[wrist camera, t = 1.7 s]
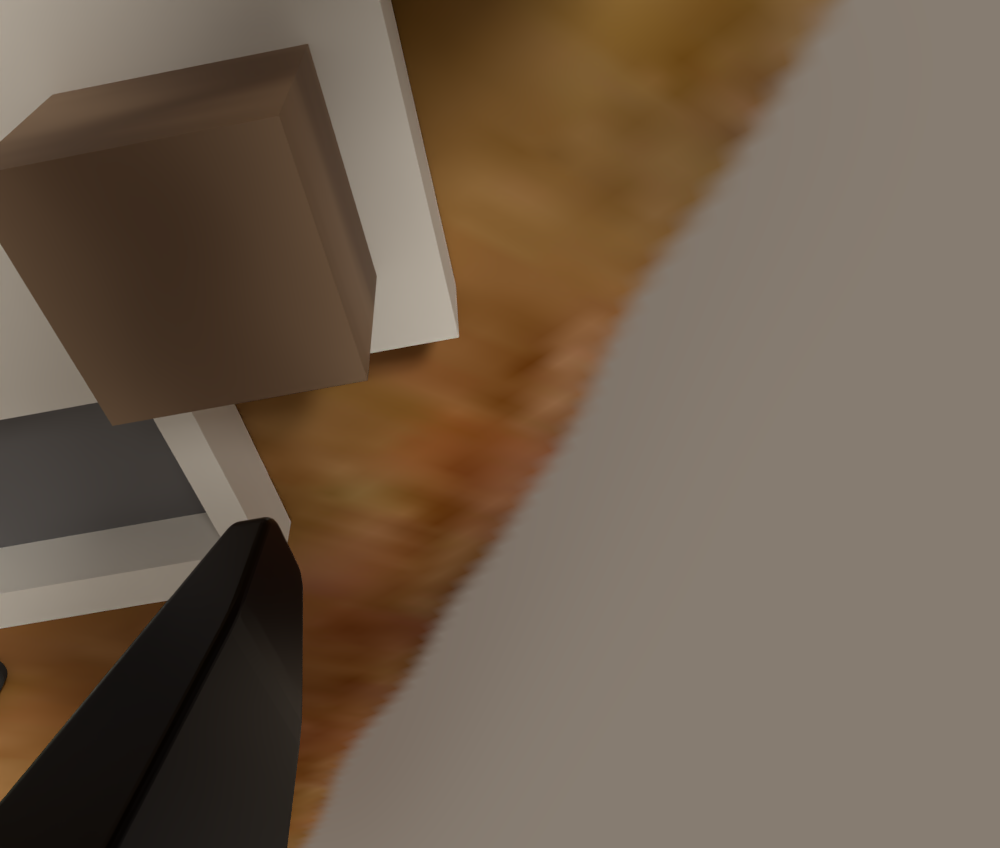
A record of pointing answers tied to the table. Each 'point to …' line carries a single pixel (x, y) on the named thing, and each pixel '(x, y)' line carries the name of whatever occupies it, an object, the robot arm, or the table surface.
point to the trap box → (211, 432)
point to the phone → (2, 674)
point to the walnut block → (192, 236)
